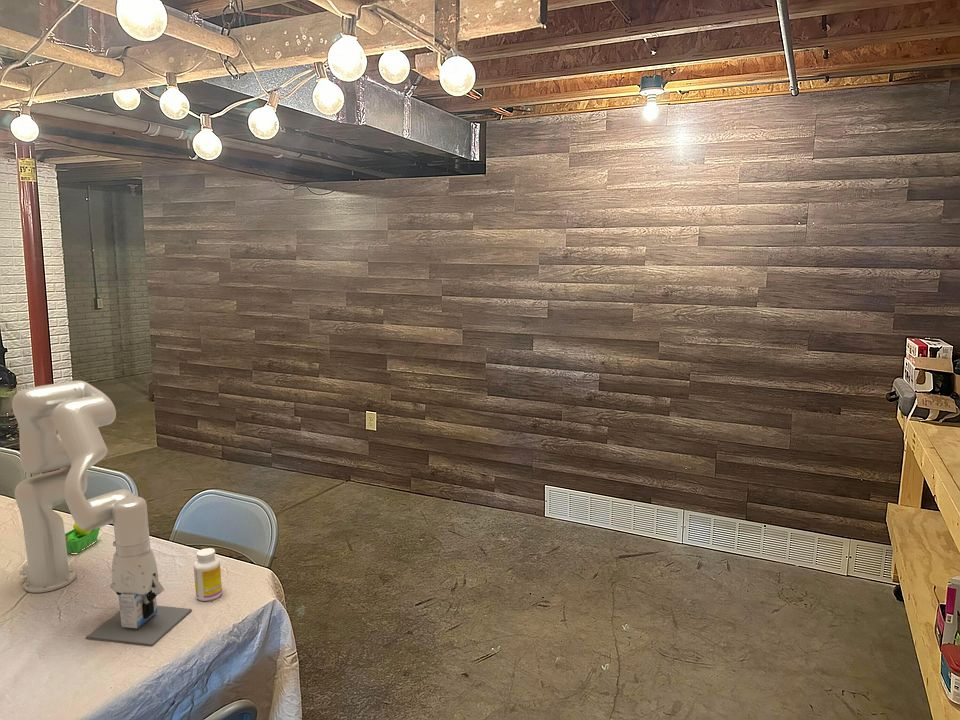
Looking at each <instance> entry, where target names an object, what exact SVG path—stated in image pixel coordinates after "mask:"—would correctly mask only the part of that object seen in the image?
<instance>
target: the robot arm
mask: <svg viewBox="0 0 960 720" xmlns="http://www.w3.org/2000/svg"><path fill="white" fill-rule="evenodd" d="M11 404H12V405H11V407H12V412H13V415H14V417H15V419H16V422H17V425H18V429H19V433H18V434H19V456H20V457H19V459H20V460H19V461H20V465H21V468H22V470H23V472H25V473H26V474H29V475H33V476H31V477H28V478H26V479H24V480H22V481H21V482H18V484H17V485H16V487H15V489H14V498H15V501H16V504H17V507H18V509H19V513H20V517H21V522H22V530H23V537H24V544H25V552H26V561H27V564H24V565H23V566H22V568H21V570H20V571H19V573H18V574H19V576H26V577H25V578H26V580H25V581H24V583H23V590H24V591H26V592H28V593H39V594H40V593H48V592H51V591H54V590H58V589H61V588H64V587H66V586H68V585H69V584H71V583H72V582H74V581H75V580H76V578H77V573H76V570H74V569H72V568H69V567H70V566H69V557H68V554H67V548H66V539H65V534H66V531H65V523H64V519H63V517H62V516H61V515H60V514H58V513H57V512H56V511H54V510H53V508H54V507H56V506H58V505H61V504H65V503H66V505H67V509H68V510H69V512H70V513H69V514H70V515H71V517H72V519H73V521H74V523H76V524H77V526H78V527H79V528H81V529H83V530H86V531H89V530H94V529H97V528H100V529H101V528H102V527H105V526H107V525H110V524H113V530H114V531H113V532H114V541H113V542H112V547H115V552H114V553H113V555H112V563H111V584H110V586H109V588H110V589H111V590H112V591H114V592H115V593H116V594H117V595H118V597H119V595H121V594H122V593H129V594H137V595H142V597H143V600H144V603H143V604H142V609H143V618H144V619H147V618H148V617H149V616H150V615H152V614H153V613H154V605H153V599H155V597H156V598H157V596H159V595H160V594H161V593H163V592H164V591H165V588H164V587H163V585H162V584H161V582H160V581H159V572H158V565H157V561H156V557H155V554H154V552H153V550H152V549H151V541H150V539H151V538H150V529H149V517H148V507H147V506H148V504H147V501H146V499H144V498H143V497H142V496H136V495H135V494H134V493H133V492H132V491H131V490H128V489H126V488H123V489H121V488H120V489H117V490H114V491H111V492H106V493H103V494H100V495H98V496H94V497H90V498H88V499H87V498H86V496H85V493H86V491H87V489H88V470H89V469H90V468H91V467H93V466H95V465H96V464H97V463H99V462H101V460H103V459H104V458H105V457H106V456H107V455H108V447H107V444H106V443H105V441H104V438H103V436H102V434H101V431H100V430H99V428H100V427H104V426H105V427H106V426H109V425H111V424H113V423H114V422H115V420H116V417H117V411H116V407H115V405H114V403H113V401H112V400H111V398H110V397H109V396H108V395H106V393H104V392H103V391H101V390H100V389H98V388H96V387H95V386H93V385H92V384H90V383H89V382H87V381H83V380H70V381H64V382H57V383H51V384H43V385H38V386H34V387H28V388H24V389H21V390H18V391H17V392H16V393H15V394H14V395H13V398H12V403H11ZM152 587H153V588H154V589H155V591H153V588H152ZM148 593H149V597H148Z"/></svg>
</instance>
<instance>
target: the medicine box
mask: <svg viewBox="0 0 960 720" xmlns="http://www.w3.org/2000/svg"><path fill="white" fill-rule="evenodd" d="M152 588H153V587H152ZM153 591H155V589H154V588H153ZM148 597H149V593H148ZM118 602H119V605H118V606H119V611H120V614H121V624H122V627H128V628H136V629H137V628H139V627H140V626H141V625H142V624H143V623H145V622H146V621H147V620H148V619H149V618H151V617H152V616H153V615H154V614H156V613H157V596H156V597H155V599H153V605H154V613H153V614H152V615H150V616H149V617H148V618H147V619H144V618H143V609H142V604H143V603H144V600H143V597H142V595H137V594H129V593H122V594H121V595H119V596H118Z"/></svg>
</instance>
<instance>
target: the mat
mask: <svg viewBox="0 0 960 720" xmlns="http://www.w3.org/2000/svg"><path fill="white" fill-rule="evenodd" d="M192 611H193V608H187V607H176V606H166V605H157V613H156V614H154V615H153V616H152V617H151V618H149V619H148V620H147V621H146V622H145V623H143V624H142V625H141V626H140V627H139V628H137V629H136V628H128V627H122V624H121V614H120V610H119V611H118V612H116V613H115V614H114V615H112V616H111V617H109V619H107V620H106V621H105V622H103V623H101V624H100V625H99V626H98V627H96V628H95V629H93V630H92V631H91V632H90V633H88V634H87V635H85V640H93V641H101V642H110V643H119V644H126V645H136V646H139V645H140V646H147V647H154V645H156V644H157V643H158V642H159V641H160V640H161V639H162V638H163V637H164V636H166V635H167V634H168V633H169V632H170V631H171V630H172V629H173V628H175V627H176V626H177V625H178V624H179V623H180V622H182V621H183V619H185V618H186V617H187V616H188V615H189V614H191V612H192Z"/></svg>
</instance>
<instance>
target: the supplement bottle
mask: <svg viewBox="0 0 960 720" xmlns="http://www.w3.org/2000/svg"><path fill="white" fill-rule="evenodd" d="M196 558H197V560H196V561H195V562H194V564H193V573H194V576H193V577H194V585H195V586H194V587H195V596H196V599H198V601H201V602H207V601H213V600H216V599H217V598H219V597H220V596H221V595H222V594H223V587H222V586H223V585H222V573H221V563H220V560H219V558H218V557H216V550H215V549H214V548H211V547H209V548H202V549H199V550H198V551H197V552H196Z"/></svg>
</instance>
